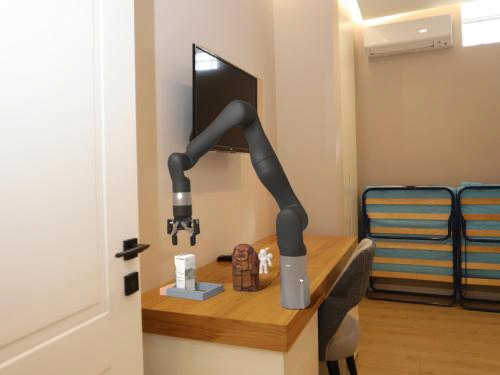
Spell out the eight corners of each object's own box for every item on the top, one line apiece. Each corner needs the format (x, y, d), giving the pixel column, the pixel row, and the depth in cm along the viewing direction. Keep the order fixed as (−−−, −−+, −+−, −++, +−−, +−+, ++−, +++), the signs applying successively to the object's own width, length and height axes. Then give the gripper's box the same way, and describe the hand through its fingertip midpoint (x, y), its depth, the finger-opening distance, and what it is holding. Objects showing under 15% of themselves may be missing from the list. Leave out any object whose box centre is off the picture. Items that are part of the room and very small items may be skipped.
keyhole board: (223, 290, 154) (223, 284, 154) (202, 300, 141) (202, 293, 141) (182, 285, 163) (182, 279, 163) (159, 294, 151) (159, 288, 151)
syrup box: (185, 289, 158) (184, 253, 157) (196, 291, 154) (195, 254, 154) (175, 292, 153) (173, 255, 153) (185, 295, 149) (184, 256, 149)
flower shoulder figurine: (273, 272, 183) (273, 246, 183) (272, 274, 179) (271, 248, 179) (255, 271, 185) (254, 246, 185) (252, 273, 181) (252, 247, 181)
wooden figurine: (228, 291, 153) (227, 244, 153) (233, 286, 159) (232, 242, 159) (257, 292, 150) (256, 245, 150) (262, 288, 156) (260, 242, 156)
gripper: (202, 203, 153) (204, 244, 153) (174, 203, 160) (175, 243, 160) (191, 204, 147) (192, 247, 147) (161, 204, 154) (163, 246, 154)
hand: (183, 245), depth 154 cm, fingers open, 8 cm apart
